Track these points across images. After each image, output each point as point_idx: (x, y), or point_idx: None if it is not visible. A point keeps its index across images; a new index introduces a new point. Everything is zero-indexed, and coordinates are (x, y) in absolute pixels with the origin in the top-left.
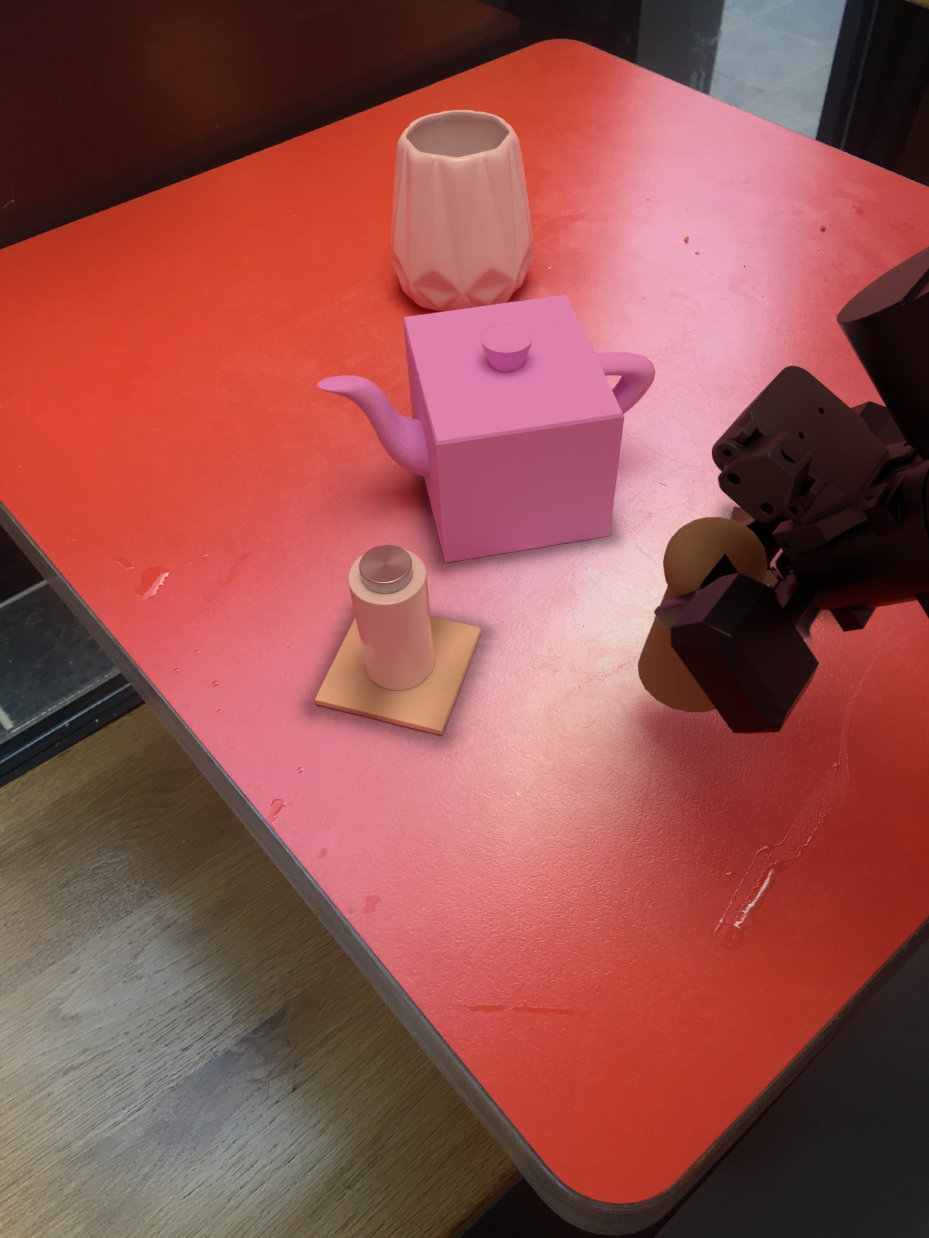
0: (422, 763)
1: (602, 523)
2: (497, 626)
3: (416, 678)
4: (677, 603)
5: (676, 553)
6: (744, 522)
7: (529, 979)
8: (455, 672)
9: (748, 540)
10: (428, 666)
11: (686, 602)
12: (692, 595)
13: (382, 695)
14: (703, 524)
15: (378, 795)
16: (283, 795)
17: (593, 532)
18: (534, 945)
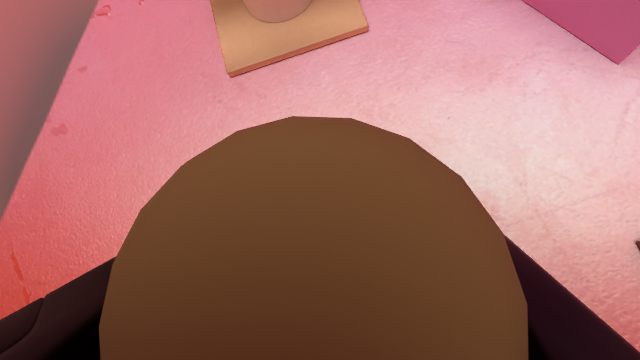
0: (195, 81)
1: (622, 40)
2: (387, 39)
3: (258, 12)
4: (103, 269)
5: (176, 172)
6: (604, 333)
7: (50, 286)
8: (297, 40)
9: None
10: (274, 11)
11: (22, 310)
12: (53, 317)
13: (234, 2)
14: (359, 195)
15: (148, 70)
16: (114, 8)
17: (602, 42)
18: (78, 274)
